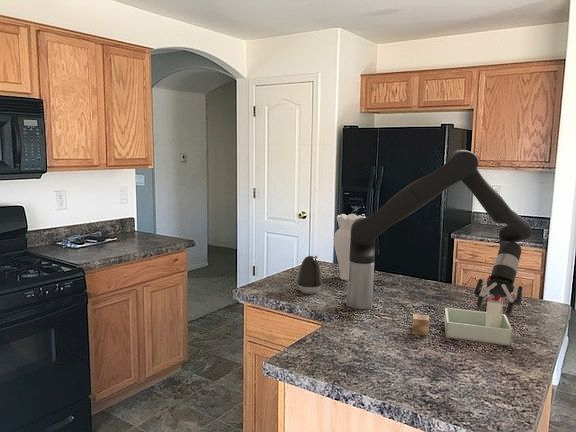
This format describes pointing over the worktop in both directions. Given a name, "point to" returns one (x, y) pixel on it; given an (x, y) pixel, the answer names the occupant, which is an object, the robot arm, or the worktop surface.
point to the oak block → (420, 324)
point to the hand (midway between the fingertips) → (493, 311)
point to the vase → (344, 242)
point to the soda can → (495, 298)
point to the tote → (475, 327)
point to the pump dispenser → (309, 276)
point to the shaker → (494, 314)
